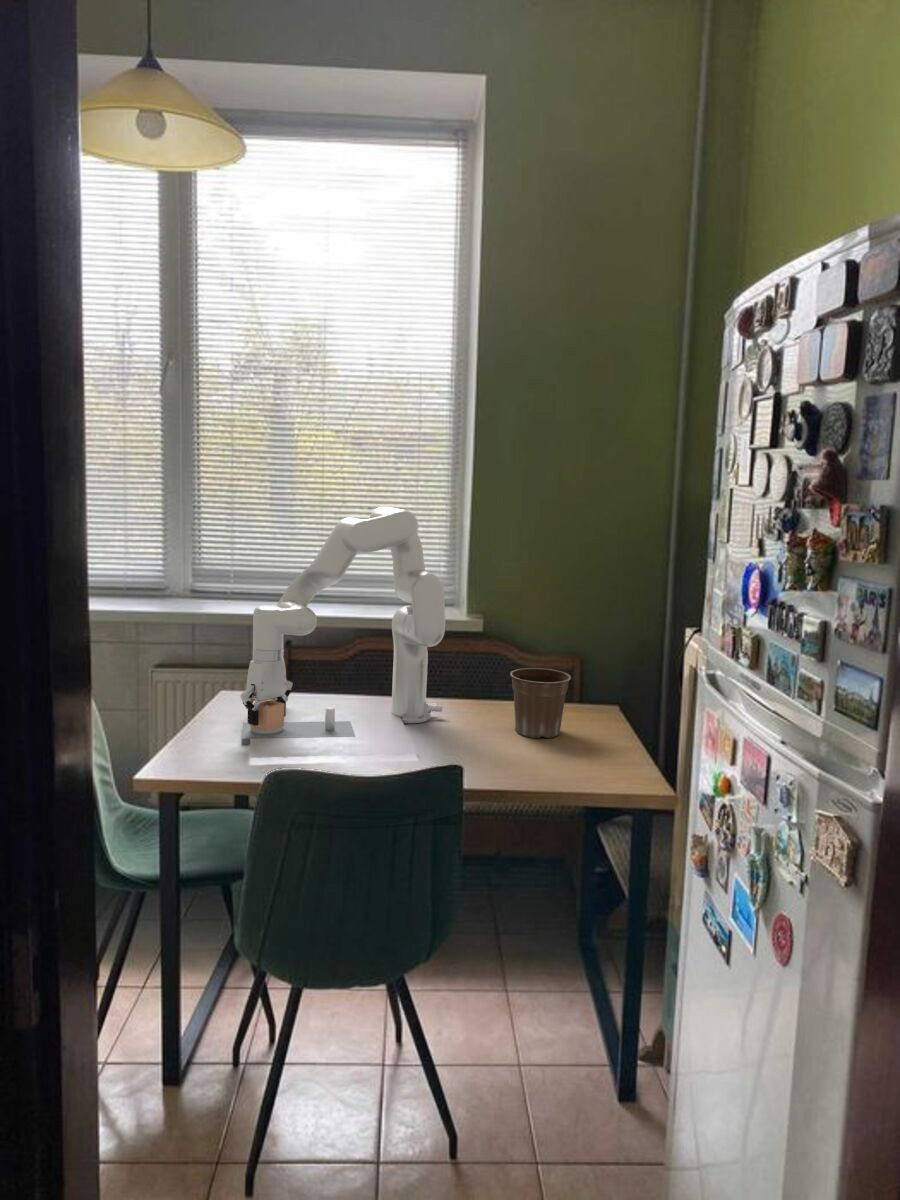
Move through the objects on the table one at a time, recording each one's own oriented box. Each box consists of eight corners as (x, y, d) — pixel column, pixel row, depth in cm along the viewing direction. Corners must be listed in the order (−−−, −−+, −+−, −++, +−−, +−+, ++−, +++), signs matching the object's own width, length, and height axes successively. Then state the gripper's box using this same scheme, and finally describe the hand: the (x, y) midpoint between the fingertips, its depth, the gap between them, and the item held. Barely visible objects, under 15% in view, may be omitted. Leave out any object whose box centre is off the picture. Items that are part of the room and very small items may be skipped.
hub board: (350, 726, 233) (351, 699, 232) (355, 742, 221) (356, 713, 220) (242, 728, 227) (243, 700, 226) (242, 744, 215) (242, 715, 214)
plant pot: (497, 734, 234) (500, 675, 231) (520, 719, 248) (524, 664, 245) (553, 745, 226) (558, 685, 224) (574, 730, 240) (579, 673, 238)
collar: (267, 721, 226) (267, 698, 225) (284, 726, 223) (284, 703, 222) (250, 726, 221) (250, 703, 220) (267, 731, 218) (267, 708, 217)
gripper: (281, 647, 228) (279, 710, 231) (231, 657, 214) (231, 724, 217) (302, 651, 224) (301, 715, 227) (253, 662, 210) (252, 731, 213)
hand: (266, 720), depth 222 cm, fingers open, 9 cm apart
